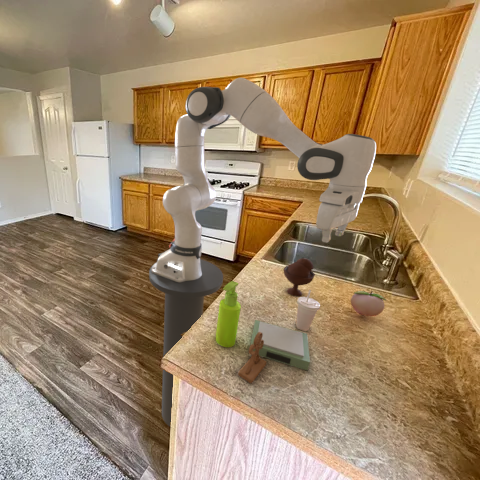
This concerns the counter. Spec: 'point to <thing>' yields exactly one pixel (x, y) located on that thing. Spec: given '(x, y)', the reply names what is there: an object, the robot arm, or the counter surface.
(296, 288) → the ice cream bowl
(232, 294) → the soap dispenser
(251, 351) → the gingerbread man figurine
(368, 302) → the decorative fruit
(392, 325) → the counter surface
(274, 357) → the scale
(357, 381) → the counter surface
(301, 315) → the smoothie
